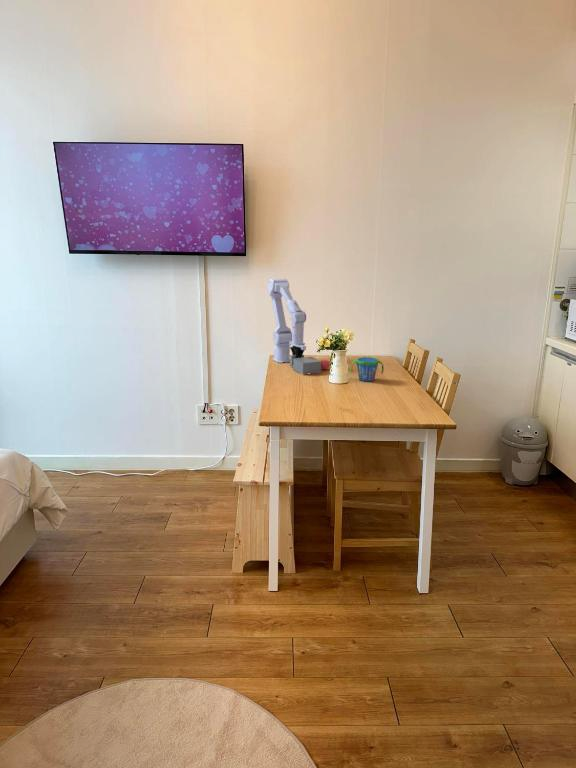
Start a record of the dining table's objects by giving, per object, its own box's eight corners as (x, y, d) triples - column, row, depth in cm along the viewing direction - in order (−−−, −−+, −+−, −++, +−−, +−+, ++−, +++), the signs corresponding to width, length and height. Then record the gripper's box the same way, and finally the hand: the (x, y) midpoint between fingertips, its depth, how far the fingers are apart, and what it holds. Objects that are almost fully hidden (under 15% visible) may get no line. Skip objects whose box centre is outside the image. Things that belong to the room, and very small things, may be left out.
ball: (318, 369, 290) (318, 359, 289) (326, 368, 292) (326, 358, 291) (323, 371, 286) (323, 361, 284) (331, 370, 288) (332, 360, 287)
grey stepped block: (287, 366, 292) (287, 355, 290) (304, 365, 296) (304, 354, 295) (302, 374, 278) (303, 363, 276) (320, 373, 282) (321, 361, 281)
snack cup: (349, 381, 267) (351, 361, 265) (350, 376, 277) (351, 356, 275) (383, 383, 265) (384, 362, 263) (382, 378, 275) (383, 357, 273)
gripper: (311, 337, 284) (310, 363, 288) (298, 332, 297) (297, 357, 301) (299, 338, 281) (298, 364, 285) (286, 333, 294) (285, 358, 297)
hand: (297, 361), depth 293 cm, fingers closed on grey stepped block
